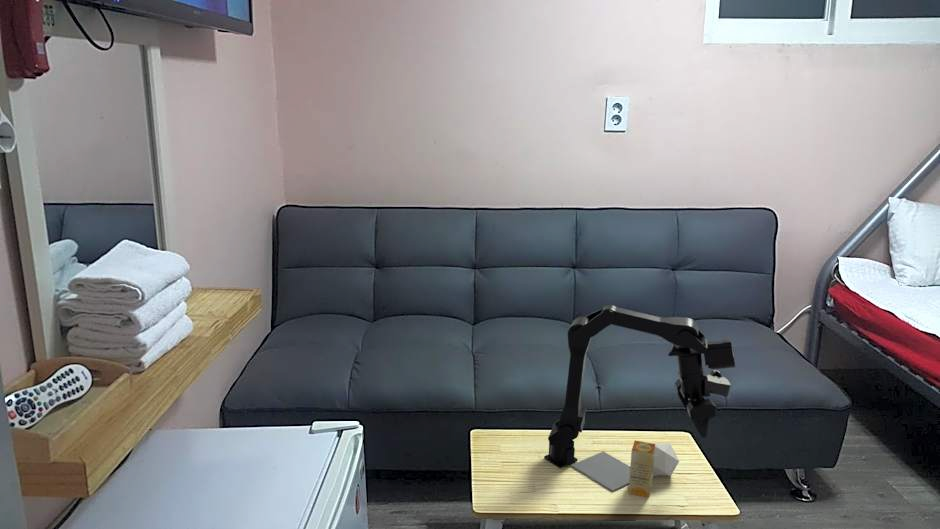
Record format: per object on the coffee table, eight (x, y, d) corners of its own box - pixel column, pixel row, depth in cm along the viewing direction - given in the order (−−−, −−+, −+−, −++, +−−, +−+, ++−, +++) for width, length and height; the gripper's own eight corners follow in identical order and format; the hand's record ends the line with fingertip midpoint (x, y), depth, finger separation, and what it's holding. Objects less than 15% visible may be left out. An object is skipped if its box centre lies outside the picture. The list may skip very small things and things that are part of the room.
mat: (571, 466, 186) (571, 465, 186) (603, 452, 193) (603, 451, 193) (612, 491, 175) (612, 490, 175) (645, 476, 182) (645, 475, 182)
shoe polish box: (651, 487, 177) (655, 444, 174) (648, 498, 173) (652, 453, 170) (631, 483, 179) (634, 440, 176) (628, 493, 174) (631, 449, 171)
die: (670, 488, 178) (689, 455, 179) (640, 470, 178) (660, 436, 179) (661, 481, 186) (679, 449, 187) (632, 464, 186) (651, 432, 187)
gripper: (736, 379, 163) (744, 441, 166) (715, 352, 181) (722, 408, 184) (686, 386, 164) (695, 448, 167) (670, 359, 182) (679, 415, 185)
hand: (699, 429), depth 176 cm, fingers open, 9 cm apart
